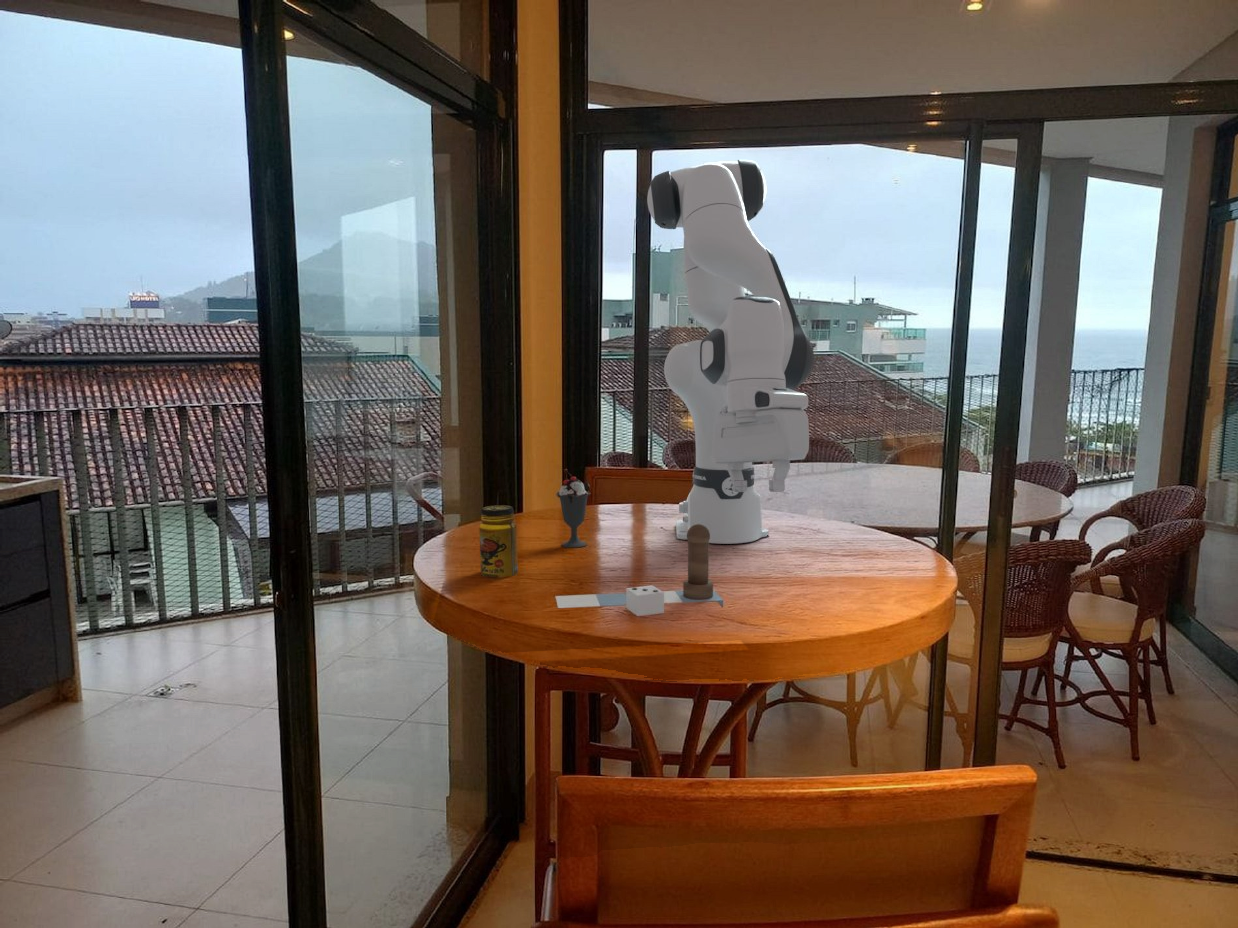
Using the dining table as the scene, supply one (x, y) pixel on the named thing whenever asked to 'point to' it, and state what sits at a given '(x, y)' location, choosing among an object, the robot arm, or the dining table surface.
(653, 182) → the robot arm
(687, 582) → the pawn
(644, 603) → the die
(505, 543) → the condiment
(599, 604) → the board
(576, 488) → the sundae
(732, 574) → the dining table surface
